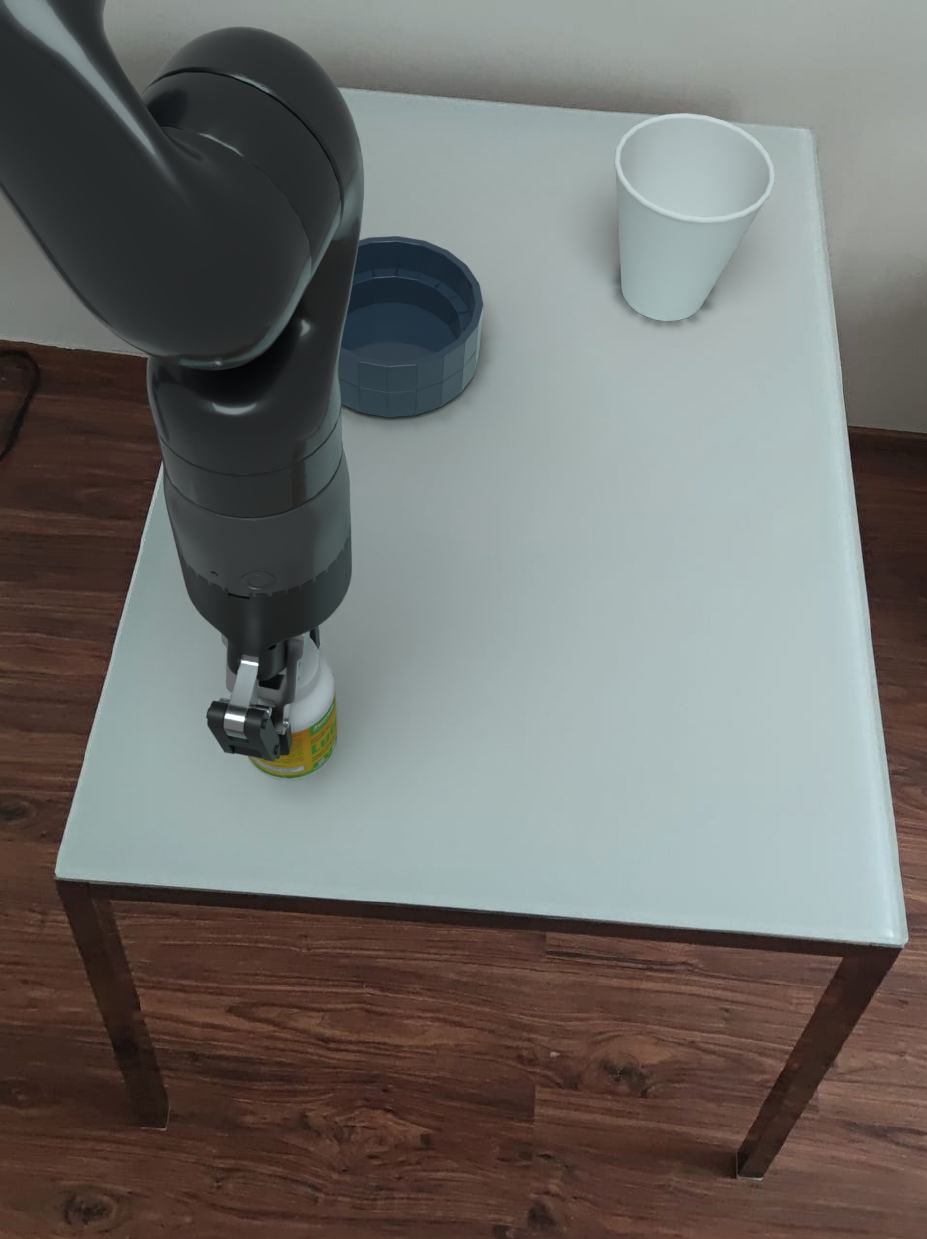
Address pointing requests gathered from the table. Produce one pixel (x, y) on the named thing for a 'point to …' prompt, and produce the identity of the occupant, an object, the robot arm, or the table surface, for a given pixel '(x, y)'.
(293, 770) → the supplement bottle
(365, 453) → the table surface
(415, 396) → the bowl
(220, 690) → the table surface
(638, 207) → the cup
